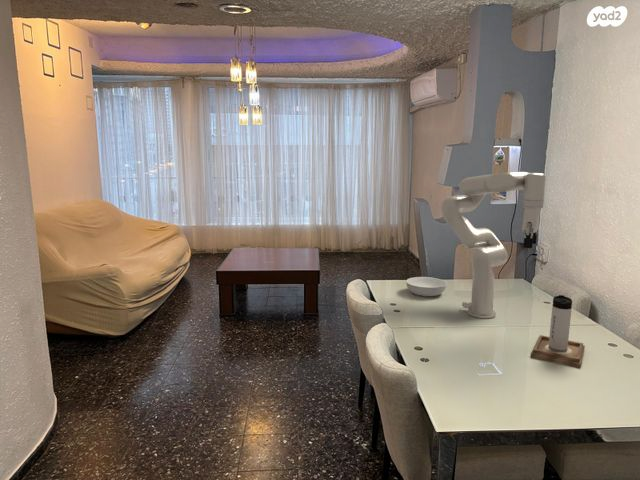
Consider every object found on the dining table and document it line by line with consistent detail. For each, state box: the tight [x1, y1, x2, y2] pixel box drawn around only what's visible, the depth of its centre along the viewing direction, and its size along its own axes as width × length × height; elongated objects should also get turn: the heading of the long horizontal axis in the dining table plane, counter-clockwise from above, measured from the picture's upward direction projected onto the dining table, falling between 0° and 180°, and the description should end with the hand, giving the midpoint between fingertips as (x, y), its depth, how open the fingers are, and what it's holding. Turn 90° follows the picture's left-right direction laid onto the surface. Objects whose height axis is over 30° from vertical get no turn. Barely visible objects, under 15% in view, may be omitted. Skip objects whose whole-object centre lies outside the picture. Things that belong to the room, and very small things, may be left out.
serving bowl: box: [405, 276, 448, 297], centre depth 244 cm, size 21×21×7 cm
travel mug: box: [548, 294, 573, 352], centre depth 170 cm, size 6×7×20 cm
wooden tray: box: [530, 334, 586, 369], centre depth 172 cm, size 16×18×3 cm
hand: (529, 245), depth 188 cm, fingers open, 9 cm apart
